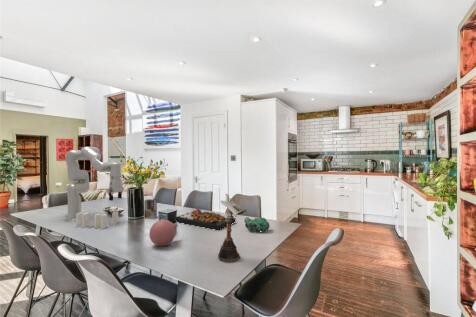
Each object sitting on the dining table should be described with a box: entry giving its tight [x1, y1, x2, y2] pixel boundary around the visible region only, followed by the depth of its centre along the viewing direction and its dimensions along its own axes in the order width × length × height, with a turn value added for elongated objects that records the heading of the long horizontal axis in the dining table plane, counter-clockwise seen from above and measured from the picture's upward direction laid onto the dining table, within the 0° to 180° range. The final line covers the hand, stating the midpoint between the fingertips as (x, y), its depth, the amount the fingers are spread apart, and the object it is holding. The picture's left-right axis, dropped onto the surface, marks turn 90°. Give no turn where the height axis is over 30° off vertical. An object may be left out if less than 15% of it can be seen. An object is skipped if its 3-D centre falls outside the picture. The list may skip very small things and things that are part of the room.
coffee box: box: [143, 198, 158, 220], centre depth 211 cm, size 9×6×16 cm
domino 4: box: [100, 213, 109, 230], centre depth 178 cm, size 2×5×10 cm, turn 168°
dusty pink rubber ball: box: [148, 219, 179, 247], centre depth 148 cm, size 15×20×15 cm
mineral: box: [244, 216, 270, 233], centre depth 175 cm, size 18×16×10 cm
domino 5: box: [111, 210, 119, 225], centre depth 190 cm, size 2×5×10 cm, turn 168°
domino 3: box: [93, 213, 102, 230], centre depth 179 cm, size 2×5×10 cm, turn 168°
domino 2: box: [81, 212, 90, 229], centre depth 181 cm, size 2×5×10 cm, turn 168°
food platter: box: [175, 205, 236, 231], centre depth 197 cm, size 45×25×10 cm, turn 59°
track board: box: [78, 225, 106, 230], centre depth 180 cm, size 27×9×1 cm, turn 78°
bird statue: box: [217, 193, 247, 263], centre depth 127 cm, size 17×13×35 cm
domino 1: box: [75, 211, 84, 228], centre depth 182 cm, size 2×5×10 cm, turn 168°
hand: (115, 199), depth 190 cm, fingers open, 9 cm apart
